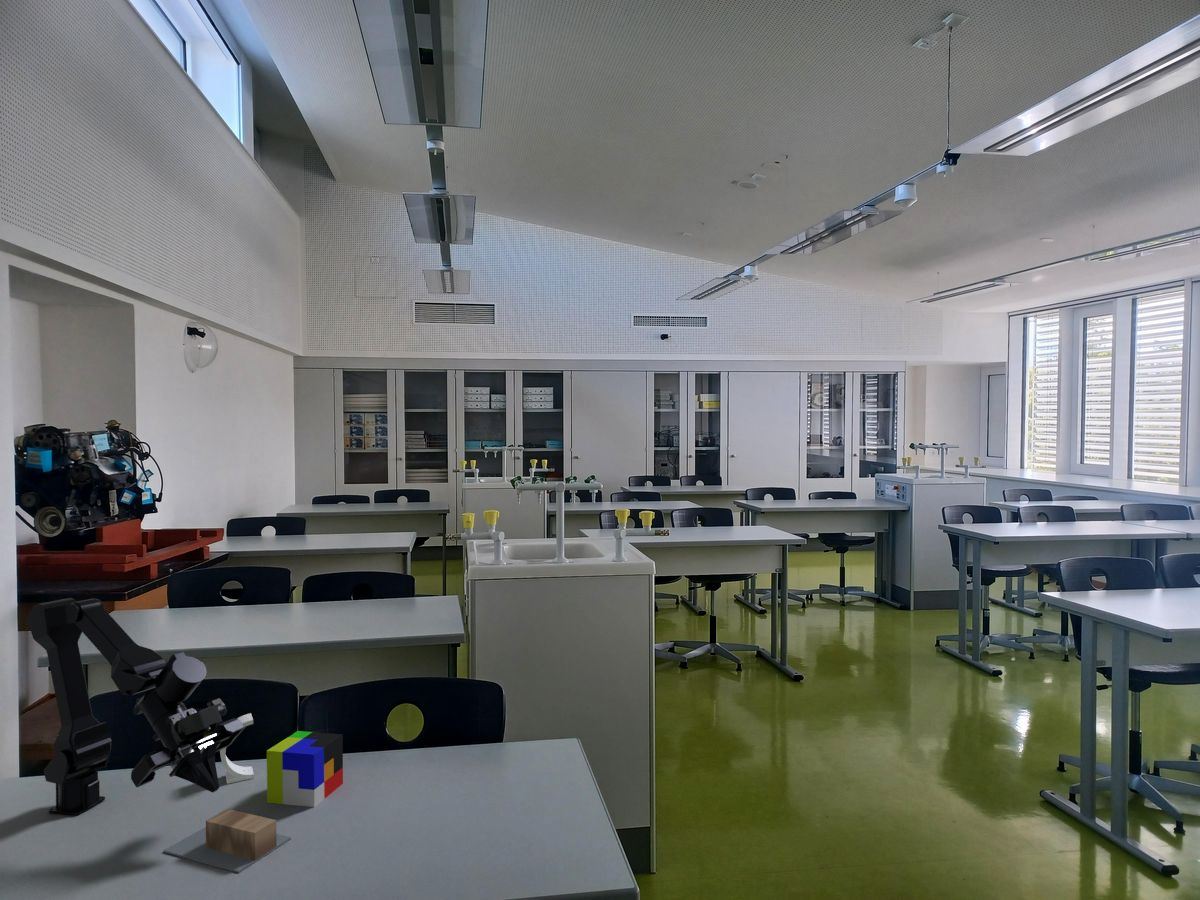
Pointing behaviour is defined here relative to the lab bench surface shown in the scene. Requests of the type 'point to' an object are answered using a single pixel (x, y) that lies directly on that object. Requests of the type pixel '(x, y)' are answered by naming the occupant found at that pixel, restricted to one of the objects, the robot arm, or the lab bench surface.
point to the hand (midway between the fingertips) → (216, 790)
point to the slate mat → (214, 852)
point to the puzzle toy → (304, 768)
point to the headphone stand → (235, 771)
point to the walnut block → (241, 834)
